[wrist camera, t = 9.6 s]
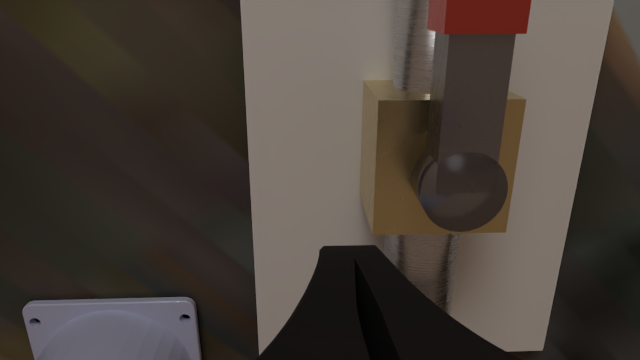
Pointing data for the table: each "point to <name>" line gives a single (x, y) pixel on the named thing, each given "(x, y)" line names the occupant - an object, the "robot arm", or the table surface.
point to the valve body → (404, 150)
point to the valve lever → (467, 110)
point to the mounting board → (345, 154)
